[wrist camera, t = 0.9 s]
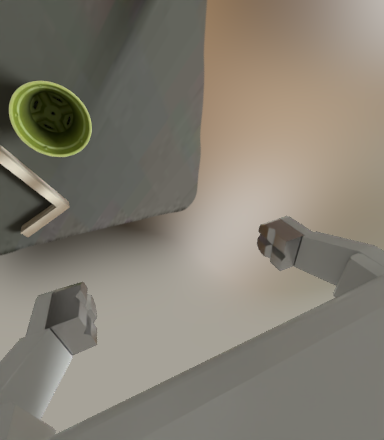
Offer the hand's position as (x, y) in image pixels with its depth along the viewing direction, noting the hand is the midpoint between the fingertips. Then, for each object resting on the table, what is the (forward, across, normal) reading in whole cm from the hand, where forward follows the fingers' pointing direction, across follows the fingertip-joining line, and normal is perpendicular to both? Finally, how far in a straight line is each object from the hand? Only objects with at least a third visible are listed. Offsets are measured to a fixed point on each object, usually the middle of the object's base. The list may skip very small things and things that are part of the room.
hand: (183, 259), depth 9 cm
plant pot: (+38, +9, -4) cm, 39 cm away
